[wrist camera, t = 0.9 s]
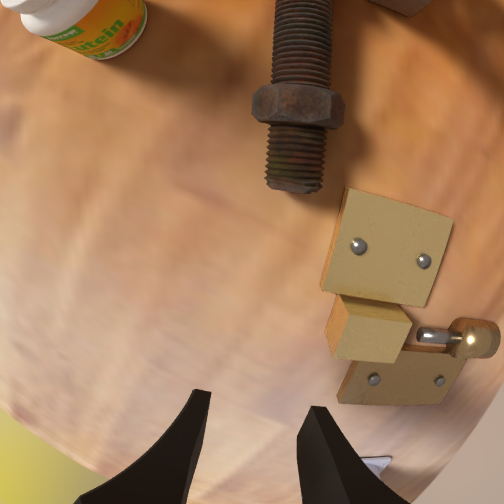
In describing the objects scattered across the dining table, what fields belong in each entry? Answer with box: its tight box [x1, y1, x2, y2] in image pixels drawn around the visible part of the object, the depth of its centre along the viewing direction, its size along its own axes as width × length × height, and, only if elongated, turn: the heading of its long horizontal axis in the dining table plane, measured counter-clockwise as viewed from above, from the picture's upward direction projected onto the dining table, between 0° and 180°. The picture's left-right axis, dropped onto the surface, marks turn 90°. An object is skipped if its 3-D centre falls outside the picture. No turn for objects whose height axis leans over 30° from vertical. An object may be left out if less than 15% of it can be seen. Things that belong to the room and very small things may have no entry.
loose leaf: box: [320, 187, 454, 363], centre depth 19 cm, size 10×8×3 cm
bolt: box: [252, 0, 345, 194], centre depth 14 cm, size 6×5×15 cm
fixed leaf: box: [337, 318, 501, 405], centre depth 21 cm, size 9×12×3 cm
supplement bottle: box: [1, 0, 147, 60], centre depth 11 cm, size 5×5×10 cm
